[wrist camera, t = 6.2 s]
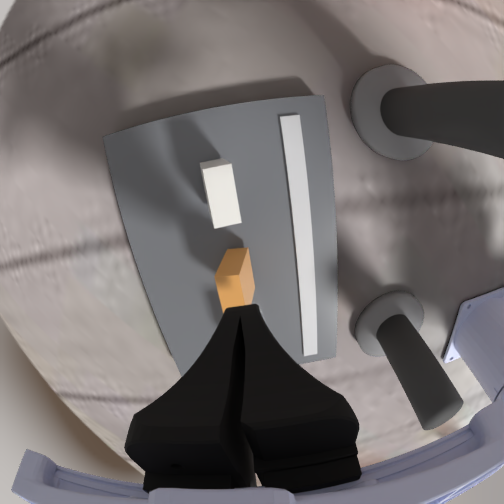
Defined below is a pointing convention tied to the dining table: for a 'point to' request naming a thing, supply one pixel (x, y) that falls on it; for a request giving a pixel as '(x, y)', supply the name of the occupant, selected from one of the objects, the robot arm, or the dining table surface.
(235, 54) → the dining table surface
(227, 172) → the block
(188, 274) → the breaker panel
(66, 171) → the dining table surface
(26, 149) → the dining table surface
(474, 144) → the rubber post
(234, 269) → the block
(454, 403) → the rubber post
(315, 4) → the dining table surface
